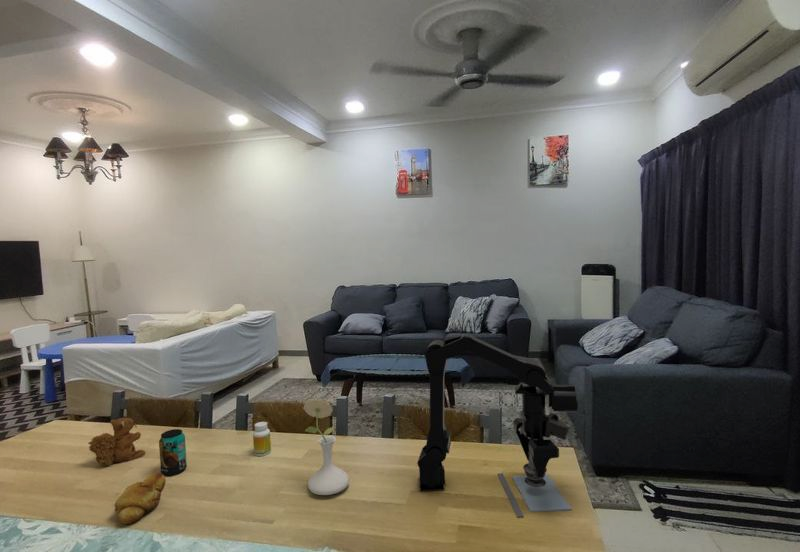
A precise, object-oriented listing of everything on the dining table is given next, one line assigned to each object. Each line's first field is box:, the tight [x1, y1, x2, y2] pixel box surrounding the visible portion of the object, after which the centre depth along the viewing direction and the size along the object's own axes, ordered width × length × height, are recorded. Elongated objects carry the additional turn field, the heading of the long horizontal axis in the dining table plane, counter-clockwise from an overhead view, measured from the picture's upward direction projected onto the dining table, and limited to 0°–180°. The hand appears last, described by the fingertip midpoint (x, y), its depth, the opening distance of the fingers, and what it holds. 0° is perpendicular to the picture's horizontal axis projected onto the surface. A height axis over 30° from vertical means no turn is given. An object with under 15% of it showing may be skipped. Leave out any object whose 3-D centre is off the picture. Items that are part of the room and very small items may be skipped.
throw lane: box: [497, 472, 572, 519], centre depth 111 cm, size 14×20×1 cm
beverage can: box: [158, 428, 188, 477], centre depth 130 cm, size 7×7×12 cm
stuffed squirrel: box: [87, 417, 146, 467], centre depth 139 cm, size 10×14×13 cm
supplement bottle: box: [252, 421, 272, 457], centre depth 140 cm, size 5×5×10 cm
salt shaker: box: [522, 440, 548, 487], centre depth 111 cm, size 6×6×12 cm
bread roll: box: [114, 472, 166, 525], centre depth 109 cm, size 13×10×8 cm
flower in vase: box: [303, 397, 350, 496], centre depth 117 cm, size 13×11×25 cm
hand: (534, 468), depth 111 cm, fingers closed on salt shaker, 8 cm apart
